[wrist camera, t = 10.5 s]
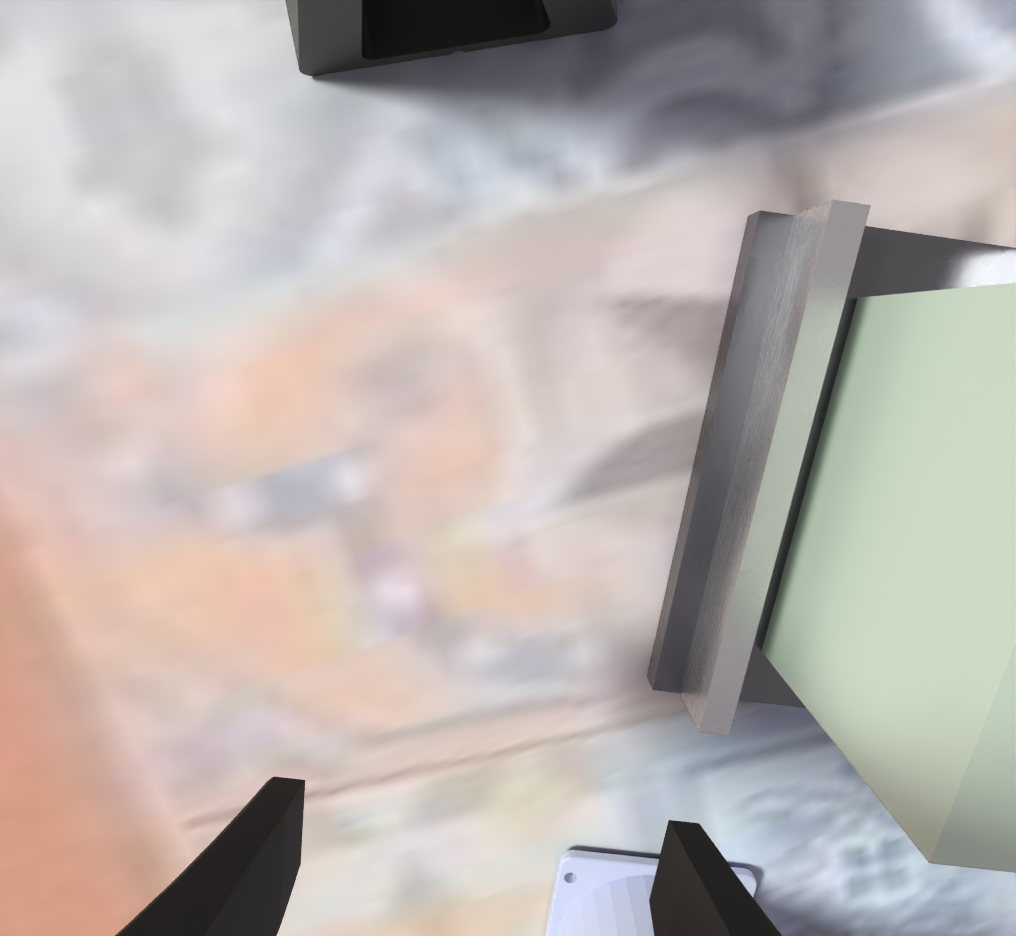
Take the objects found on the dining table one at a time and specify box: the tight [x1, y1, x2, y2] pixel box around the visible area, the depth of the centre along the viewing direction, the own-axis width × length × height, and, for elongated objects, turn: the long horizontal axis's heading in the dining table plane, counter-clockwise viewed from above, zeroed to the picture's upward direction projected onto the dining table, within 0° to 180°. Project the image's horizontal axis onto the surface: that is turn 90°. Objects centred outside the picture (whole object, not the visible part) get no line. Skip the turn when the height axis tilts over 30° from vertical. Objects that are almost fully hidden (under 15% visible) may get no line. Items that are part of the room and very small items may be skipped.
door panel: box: [762, 283, 1016, 873], centre depth 14 cm, size 12×3×8 cm, turn 172°
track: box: [647, 200, 1016, 736], centre depth 18 cm, size 10×16×3 cm, turn 172°
